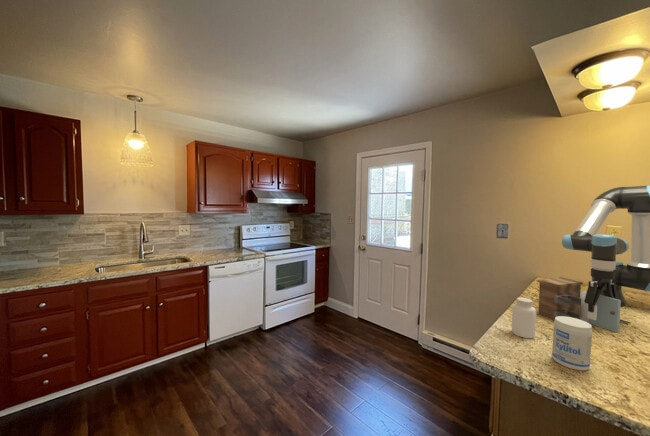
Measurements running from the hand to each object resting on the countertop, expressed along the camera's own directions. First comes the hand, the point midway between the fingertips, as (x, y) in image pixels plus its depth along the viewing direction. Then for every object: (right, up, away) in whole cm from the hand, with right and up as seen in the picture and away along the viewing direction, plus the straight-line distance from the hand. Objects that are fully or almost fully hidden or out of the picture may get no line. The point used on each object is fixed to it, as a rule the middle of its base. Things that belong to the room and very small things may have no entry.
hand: (600, 317), depth 118 cm
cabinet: (-8, -4, +10) cm, 13 cm away
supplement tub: (-40, -5, -28) cm, 49 cm away
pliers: (+13, -4, +12) cm, 18 cm away
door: (0, -4, +1) cm, 4 cm away
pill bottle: (-40, -4, -7) cm, 41 cm away
